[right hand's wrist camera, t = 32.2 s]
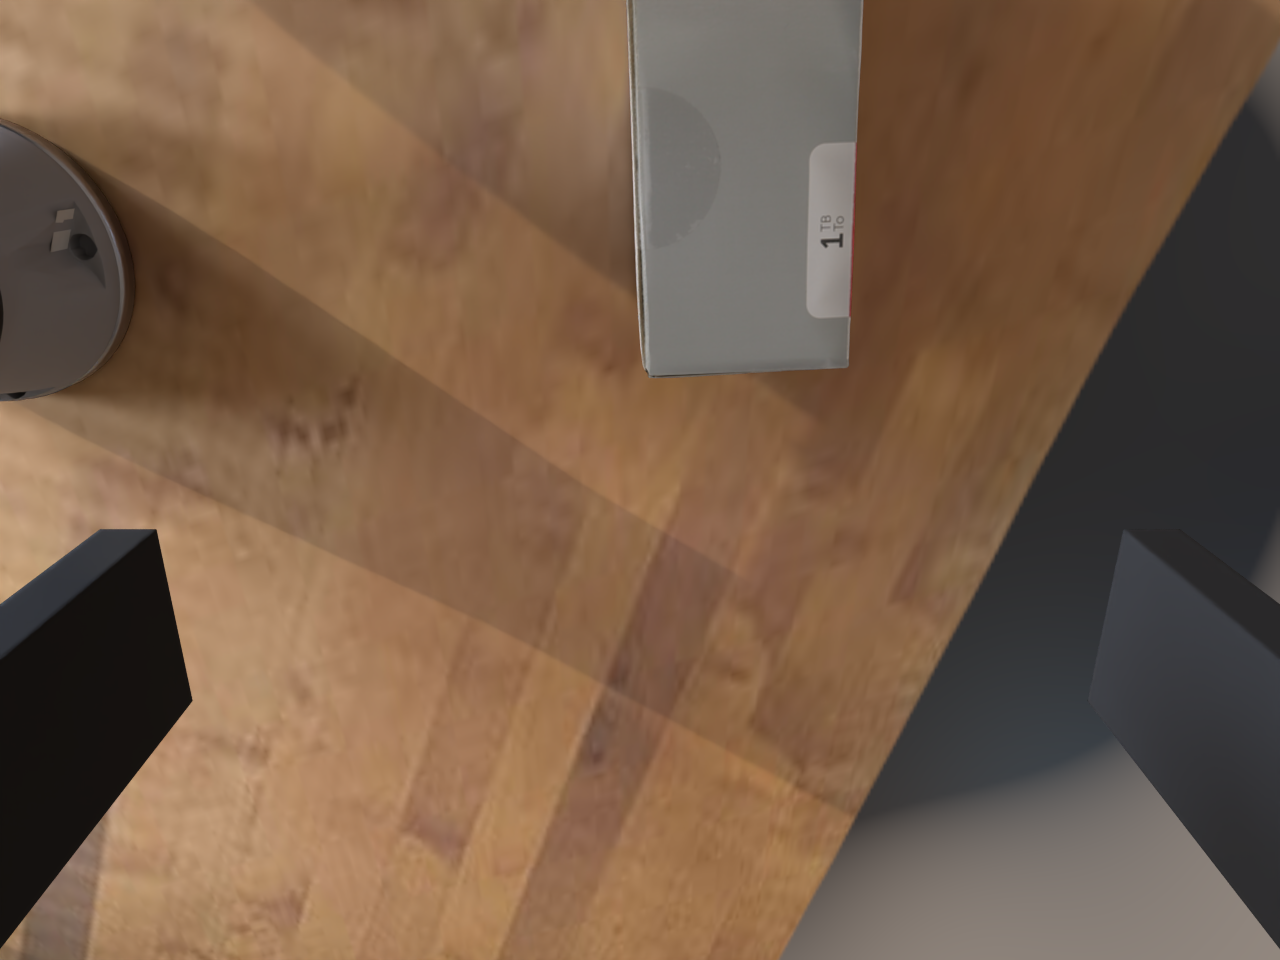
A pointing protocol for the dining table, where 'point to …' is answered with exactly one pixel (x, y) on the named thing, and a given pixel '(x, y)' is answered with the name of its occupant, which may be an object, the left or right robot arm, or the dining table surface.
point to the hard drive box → (744, 182)
